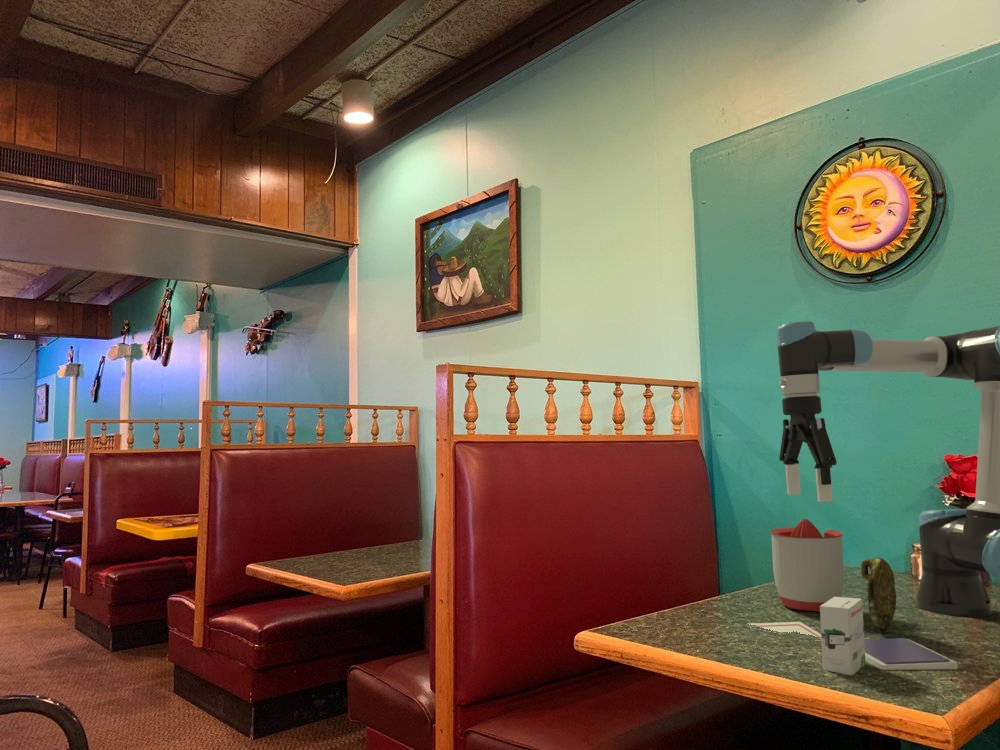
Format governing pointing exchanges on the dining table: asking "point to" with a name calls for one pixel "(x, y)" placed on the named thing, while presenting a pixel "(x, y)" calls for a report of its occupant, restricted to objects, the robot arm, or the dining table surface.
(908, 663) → the ink pad
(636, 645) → the dining table surface
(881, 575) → the brown mottled tapered part
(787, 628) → the paper
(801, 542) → the citrus juicer
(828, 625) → the ink box
